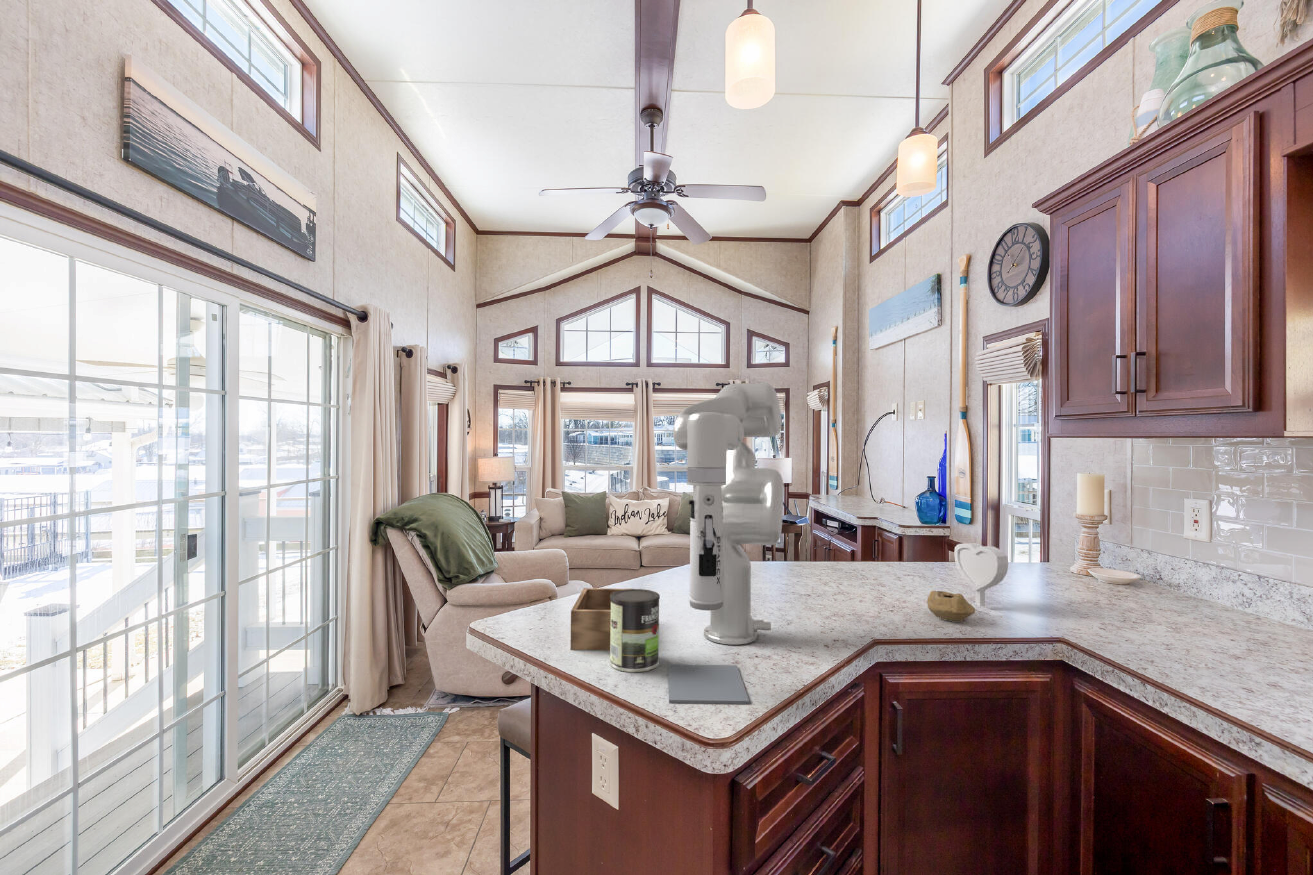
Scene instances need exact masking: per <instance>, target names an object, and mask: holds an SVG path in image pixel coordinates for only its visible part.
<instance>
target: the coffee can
mask: <svg viewBox="0 0 1313 875" xmlns="http://www.w3.org/2000/svg"><path fill="white" fill-rule="evenodd" d="M625 589H626V590H620V591H616V592H613V593H612V594H611V595H610V599H611V636H610V650H609V655H610V656H609V658H610V659H609V665H610V666H611V667H612V669H615V670H617V671H621V672H626V673H642V672H648V671H651V670H654V669H655V668H657V667H658V666H659V663H660V662H659V658H660V657H659V656H660V655H659V653H660V652H659V650H660V649H659V645H660V644H659V643H660V640H659V639H660V638H659V637H660V636H659V635H660V631H659V630H660V629H659V628H660V626H659V625H660V597H661V596H660V593H658V592H656V591H653V590H650V589H645V588H643V589H641V588H625Z"/></svg>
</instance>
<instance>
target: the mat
mask: <svg viewBox="0 0 1313 875" xmlns="http://www.w3.org/2000/svg"><path fill="white" fill-rule="evenodd" d="M667 666H668V667H667V669H668V670H667V671H668V673H667V674H668V676H667V678H668V680H667V681H668V703H669V704H673V703H674V704H725V705H729V704H730V705H733V704H736V705H740V704H741V705H743V704H744V705H750V700H749V696H748V693H747V690H746V688H745V684H744V682H743V679H742V676H741V673H740V670H739V667H738V665H737V664H726V665H725V664H675V663H674V664H671V663H670V664H667Z"/></svg>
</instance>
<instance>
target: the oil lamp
mask: <svg viewBox="0 0 1313 875" xmlns="http://www.w3.org/2000/svg"><path fill="white" fill-rule="evenodd" d="M926 601H927V608H928V609H929V611H930V612H931V613H932V614H933V615H934V616H935V617H936V618H938V617H939V618H941V619H946V620H945V621H947V620H951V621H960V622H962V621H961V620H964V621H965V620H966V619H967V618H969V617H970V616H972V615H974V614H975V612H976V610H975V608H974V607H973V606H972V605H971V604H969V603H970V602H969V603H968V601H967V599H966V598H965V597H964V595H963V594H961V593H951V592H948V591H943V590H937V591H936V590H931V591H930V592H929V595H928V597H927V600H926ZM939 618H938V619H939ZM941 619H940V620H941ZM951 621H950V622H951Z"/></svg>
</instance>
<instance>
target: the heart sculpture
mask: <svg viewBox="0 0 1313 875" xmlns="http://www.w3.org/2000/svg"><path fill="white" fill-rule="evenodd" d="M953 555H954V564H955V566H956V568H957V571H958V572H959V574H960V575H961V576H962V578H963V579H964V581H965V582H967V584H968V585H969V586H970V587H971V588H972V589H973V591H974V592H975V594H974V595H975V597H974V598H975V599H974V600H975V601H974V603H975V605H977V606H983V607H985V608H986V607H987V606H986V590H988V589H990V588H993V587H995V586H997V585H998V584H1000V583H1002V581H1003V580H1004V579H1005V576H1007V574H1008V569H1009V568H1008V567H1009V560H1008V559H1009V558H1008V555H1007V553H1005V551H1003V550H1001V549H999V548H998V547H996V546H993V545H987V546H984V545H982V544H981V543H978V542H975V543H974V542H969V543H968V542H967V543H958V544H957V545H956V546H954V552H953Z"/></svg>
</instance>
